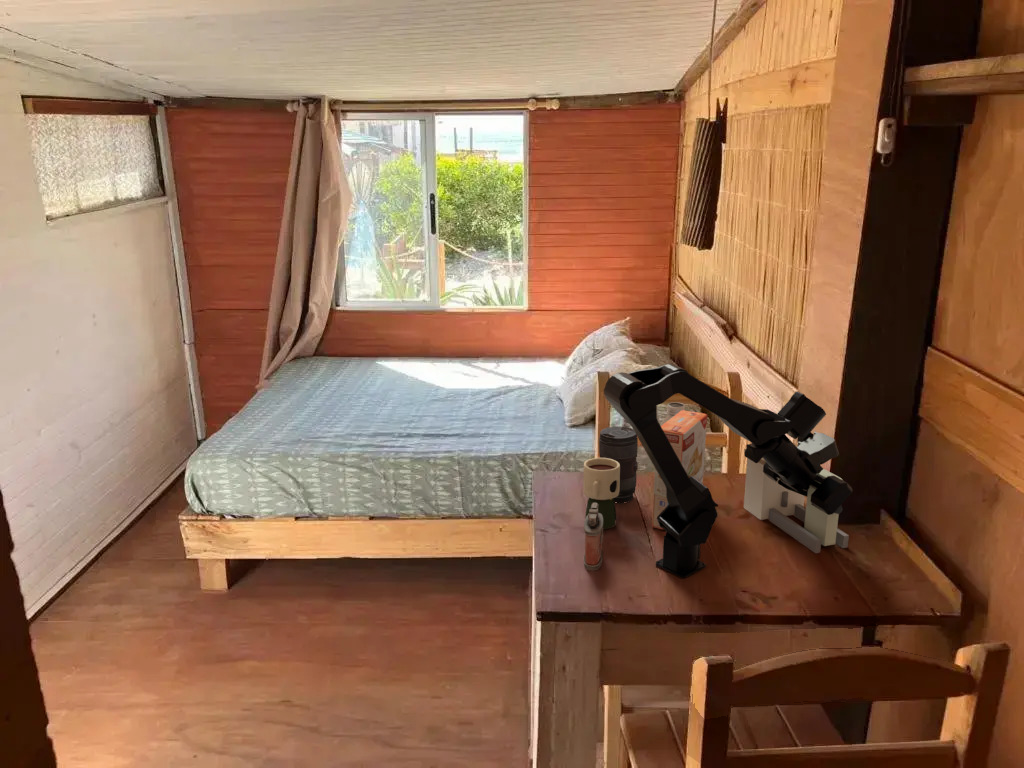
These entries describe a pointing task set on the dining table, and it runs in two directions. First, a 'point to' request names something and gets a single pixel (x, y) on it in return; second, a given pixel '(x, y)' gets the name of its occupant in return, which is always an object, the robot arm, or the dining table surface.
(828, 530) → the rectangular block
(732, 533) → the dining table surface
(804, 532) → the cabinet
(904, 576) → the dining table surface
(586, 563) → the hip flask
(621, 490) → the camera lens
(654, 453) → the robot arm
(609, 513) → the character mug
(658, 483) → the cracker box
